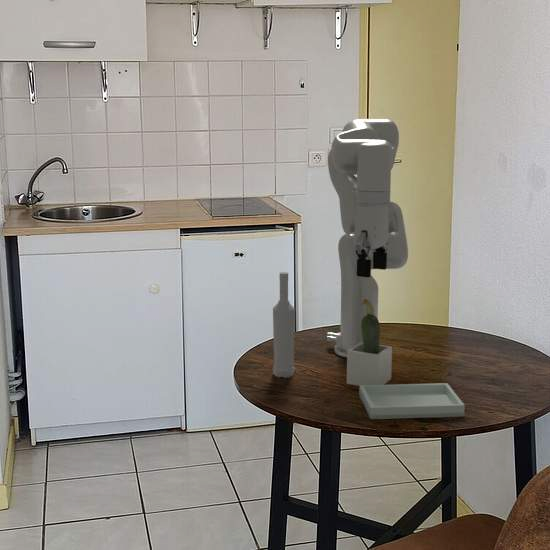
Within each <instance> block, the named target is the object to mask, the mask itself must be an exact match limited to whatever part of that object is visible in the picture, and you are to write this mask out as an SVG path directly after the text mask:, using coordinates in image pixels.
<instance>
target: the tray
mask: <svg viewBox="0 0 550 550" xmlns="http://www.w3.org/2000/svg"><path fill="white" fill-rule="evenodd" d="M358 387H359V389H358V391H359V394H358V396H359V398H360V401H361V403H362V405H363V406H364V409H365V411H366V412H367V415H368V417H369V419H370V420H383V419H384V420H385V419H389V420H390V419H414V418H415V419H418V418H419V419H420V418H422V419H423V418H457V417H465V409H466V408H465V407H466V406H465V403H464V402H463V401H462V400H461V399H460V397H459V396H458V395H457V394H456V393H455V392H456V391H454V390H453V388H452V387H451V386H450V384H449V383H445V382H444V383H443V382H442V383H440V382H439V383H436V382H435V383H408V384H407V383H406V384H405V383H404V384H403V383H401V384H399V383H398V384H384V385H360V386H358Z"/></svg>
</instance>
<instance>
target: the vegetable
mask: <svg viewBox="0 0 550 550" xmlns="http://www.w3.org/2000/svg"><path fill="white" fill-rule="evenodd" d="M365 303H366V312H367V315H365V316H364V317H363V318H362V321H361V332H362V339H363V343H364V352H366V353H373V354H378V353H379V345H380V337H381V336H380V331H381V330H380V329H381V328H380V322H379V319H377V317H376V316H375V315H374V309H373V306H372V303H371V301H369V300H368V299H365V300H363V305H364V304H365Z"/></svg>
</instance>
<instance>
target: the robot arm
mask: <svg viewBox="0 0 550 550" xmlns="http://www.w3.org/2000/svg"><path fill="white" fill-rule="evenodd" d="M399 140H400V134H399V128H398V126H397V124H396V123H395V121H393V120H392V119H388V118H377V119H376V118H369V119H368V118H357V119H353V120H351V121H348V123H346V124H345V125H344V127H343V129H342V130H341V132H340V133H339V134H336V136H335V137H334V138H333V140H332V143H331V149H330V150H329V152H328V154H327V167H328V173H329V174H328V175H329V178H330V181H331V183H332V186H333V188H334V190H335V192H336V193H337V196H338V199H339V200H338V201H339V211H340V221H341V227H342V231H343V232H344V234H343V235H341V237H340V239H339V240H338V246H337V248H338V249H337V251H338V258H339V265H340V332H338V333H336V332H332V331H329V332H328V331H327V334H326V340H327V342H331V343H332V342H333V343H335V345H334V348H333V350H334V351H333V352H334V353H335V354H336V355H338V356H340V357H343V358H347V351H348V350H349V349H351V348H352V347H354V346H355V345H357V344H358V343H360V342H363V339H362V332H361V321H362V318H363V317H364V316H365V315H367V312H366V303H365V304H364V305H363V300H365V299H368V300H369V301H371V303H372V306H373V309H374V315H375V316H376V317H377V319H378V317H379V315H378V314H379V286H378V285H379V284H378V282H377V280H376V279H375V278H374V276H372V270H384V271H385V270H396V269H401V268H403V267H404V266H405V265H406V264H407V262H408V258H409V246H408V238H407V235H406V226H405V222H404V215H403V210H402V209H401V207H400V205H399V204H398V203H396V202H394V201H391V185H392V181H391V180H392V179H391V178H392V177H391V175H392V170H393V167H394V163H395V160H396V156H397V153H398V147H399V143H400V142H399ZM378 320H379V319H378Z"/></svg>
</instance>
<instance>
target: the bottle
mask: <svg viewBox="0 0 550 550" xmlns="http://www.w3.org/2000/svg"><path fill="white" fill-rule="evenodd" d="M295 311H296V308H295V307H294V306H293V305H292V304H291V303H290V300H289V272H286V271H282V272H279V300H278V302H277V304H275V306H273V308H272V322H273V323H272V328H273V329H272V331H273V367H272V373H273V375H275V376H274V377H276V376H277V378H280V377H284V378H285V379H286V378H287V377H288V378H291V377H293V376H294V374H295V367H294V358H295V357H294V356H295V354H294V353H295V351H294V348H295V318H296V317H295V313H296V312H295ZM284 378H283V379H284Z"/></svg>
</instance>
